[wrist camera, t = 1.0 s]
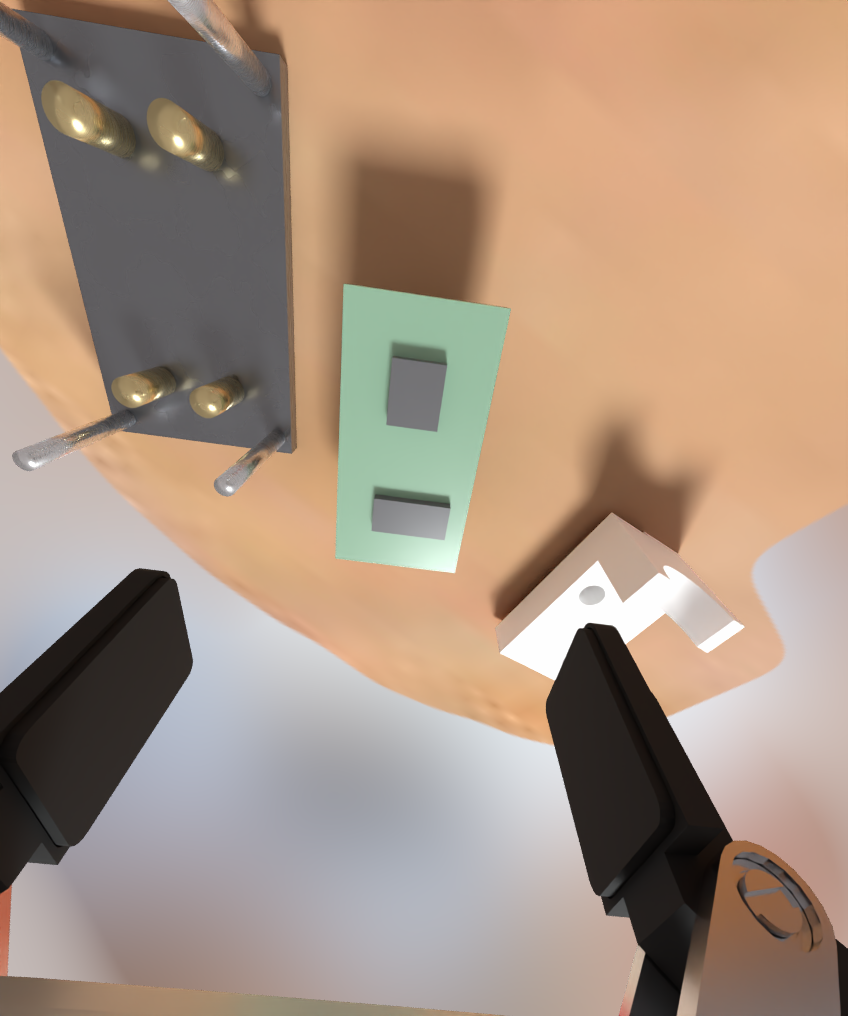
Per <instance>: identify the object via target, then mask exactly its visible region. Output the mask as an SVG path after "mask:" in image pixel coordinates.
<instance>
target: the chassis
mask: <svg viewBox="0 0 848 1016" xmlns="http://www.w3.org/2000/svg"><path fill="white" fill-rule="evenodd" d="M168 1H169V2H170V3H171V5H172V6H173V7H174V8H175V9H176V10H177V11H178V12H179V13H180V14H181V15H182V16H183V17H184V18H185V20H186V21H187V22H188V23H189V24H190V25H191V26H192V27H193V28H194V29H195V30H196V31H197V32H198V34H199V35H200V36H201V37H202V38H203V39H204V40H205V41H206V42H203V41H197V40H191V39H185V38H179V37H173V36H168V35H162V34H156V33H150V32H144V31H138V30H133V29H127V28H121V27H115V26H109V25H103V24H97V23H92V22H86V21H80V20H74V19H68V18H62V17H57V16H51V15H45V14H39V13H33V12H27V11H22V10H16V9H10V8H9V7H7V6H6V5H4V4H3V3H1V2H0V36H1V37H3V38H5V39H7V40H8V41H10V42H12V43H13V44H15V45H17V46H19V47H20V50H21V54H22V58H23V62H24V66H25V70H26V74H27V78H28V82H29V86H30V90H31V94H32V98H33V102H34V106H35V110H36V114H37V118H38V122H39V126H40V130H41V134H42V138H43V142H44V146H45V150H46V154H47V158H48V162H49V166H50V170H51V174H52V178H53V182H54V186H55V190H56V194H57V198H58V202H59V206H60V210H61V214H62V218H63V222H64V226H65V230H66V234H67V238H68V242H69V246H70V250H71V254H72V258H73V262H74V266H75V270H76V274H77V278H78V282H79V286H80V290H81V294H82V298H83V302H84V306H85V310H86V313H87V317H88V321H89V325H90V329H91V333H92V337H93V341H94V345H95V349H96V353H97V357H98V361H99V365H100V369H101V373H102V377H103V381H104V385H105V389H106V393H107V397H108V401H109V405H110V409H111V413H112V414H111V415H109V416H106V417H104V418H101V419H99V420H96V421H93V422H91V423H88V424H86V425H83V426H80V427H78V428H75V429H73V430H70V431H67V432H65V433H62V434H60V435H57V436H54V437H52V438H49V439H47V440H44V441H42V442H39V443H36V444H34V445H31V446H28V447H26V448H23V449H21V450H18V451H15V452H14V453H13V455H12V457H13V460H14V462H15V463H16V465H17V466H18V467H20V468H22V469H23V470H27V471H32V470H34V469H37V468H39V467H41V466H44V465H46V464H48V463H50V462H52V461H55V460H56V459H59V458H61V457H64V456H66V455H68V454H70V453H73V452H75V451H77V450H79V449H81V448H84V447H86V446H88V445H90V444H93V443H95V442H97V441H99V440H102V439H104V438H106V437H108V436H110V435H113V434H115V433H117V432H119V431H125V432H133V433H140V434H148V435H156V436H163V437H171V438H178V439H186V440H193V441H201V442H208V443H216V444H223V445H231V446H238V447H246V448H252V449H251V450H250V451H248V452H247V453H246V454H245V455H244V456H243V457H241V458H240V459H239V460H238V461H237V462H236V463H234V464H233V465H232V466H231V467H230V468H229V469H228V470H226V471H225V472H224V473H223V474H222V475H221V476H219V477H218V478H217V479H216V480H215V482H214V487H215V489H216V491H217V492H218V493H219V494H221V495H223V496H231V495H233V494H234V493H235V492H236V491H237V490H238V489H239V488H240V487H241V486H242V485H243V484H244V483H245V482H246V481H247V480H248V479H249V478H250V477H251V476H252V475H253V474H254V473H255V472H256V471H257V470H258V469H259V468H260V467H261V466H262V465H263V464H264V463H265V462H266V461H267V460H268V459H269V458H270V457H271V456H272V455H273V454H274V453H275V452H283V453H291V454H292V453H293V452H294V451H295V449H296V448H297V444H296V403H295V361H294V320H293V279H292V237H291V196H290V154H289V113H288V72H287V65H286V64H285V62H284V61H283V59H282V58H281V56H280V55H279V54H273V53H267V52H261V51H255V50H251V49H250V48H249V46H248V45H247V44H246V42H245V41H244V40H243V39H242V37H241V36H240V35H239V33H238V32H237V31H236V30H235V28H234V27H233V26H232V24H231V23H230V22H229V21H228V19H227V18H226V17H225V15H224V14H223V13H222V12H221V10H220V9H219V8H218V6H217V5H216V4H215V3H214V1H213V0H168Z"/></svg>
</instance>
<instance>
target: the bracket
mask: <svg viewBox="0 0 848 1016" xmlns="http://www.w3.org/2000/svg"><path fill="white" fill-rule="evenodd" d="M665 613H666V614H667V615H668V616H669V617H670V618H671V619H673V620H674V621H675V622H676V623H677V624H678V625H679V626H680V627H681V628H682V630H683V631H684V632H685V633H686V634H687V635H688V636H689V637H690V639H691V640H692V641H693V642H694V644H695V645H696V646H697V647H698V648H700V649H702V650H703V651H705V652H707V653H708V652H710V651H711V650H712V649H714V648H715V647H717V646H718V645H720V644H721V643H723V642H724V641H725V640H727V639H728V638H730V637H731V636H733V635H734V634H735V633H737V632H738V631H740V630H741V629H743V628H744V627H745V626H744V625H743V624H742V623H741V622H740V621H739V620H738V619H737V618H736V617H735V616H734V614H733V613H732V612H731V611H730V610H729V609H728V608H727V607H726V606H725V605H724V603H723V602H722V601H721V600H720V599H719V598H718V597H717V596H716V595H715V594H714V592H713V591H712V590H711V589H710V588H709V587H708V586H707V585H706V584H705V583H704V582H703V580H702V579H701V578H700V577H699V576H698V575H697V574H696V573H695V572H694V571H693V569H692V568H691V567H690V566H689V565H688V564H687V563H686V562H685V561H684V560H683V558H682V557H681V556H680V555H679V554H678V553H676V552H675V551H673V550H672V549H670V548H669V547H667V546H666V545H664V544H663V543H661V542H660V541H658V540H657V539H655V538H653V537H652V536H650V535H649V534H647V533H646V532H643V533H642V532H641V531H639V530H638V529H636V528H635V527H633V526H632V525H630V524H629V523H627V522H626V521H624V520H623V519H621V518H620V517H618V516H617V515H615V514H614V513H612V512H611V513H610V514H609V515H608V516H607V517H606V518H605V519H604V520H603V521H602V522H601V523H600V524H599V525H598V526H597V527H596V528H595V529H594V530H593V531H592V532H591V533H590V534H589V535H588V536H587V537H586V538H585V539H584V540H583V541H582V542H581V543H580V544H579V545H578V546H577V547H576V548H575V549H574V550H573V551H572V552H571V553H570V554H569V555H568V556H567V557H566V558H565V559H564V560H563V561H562V562H561V563H560V564H559V565H558V566H557V567H556V568H555V569H554V570H553V571H552V572H551V573H550V574H549V575H548V576H547V577H546V578H545V579H544V580H543V581H542V582H541V583H540V584H539V585H538V586H537V587H536V588H535V589H534V590H533V591H532V592H531V593H530V594H529V595H528V596H527V597H526V598H525V599H524V600H523V601H522V602H521V603H520V604H519V605H518V606H517V607H516V608H514V609H513V610H512V611H511V612H510V613H509V614H508V615H507V616H506V617H505V618H504V619H503V620H502V621H501V622H500V623H499V624H498V625H497V626H496V627H495V629H496V635H497V641H498V647H499V652H500V653H501V654H503V655H505V656H507V657H509V658H511V659H513V660H515V661H517V662H519V663H521V664H523V665H525V666H527V667H529V668H531V669H533V670H535V671H537V672H539V673H541V674H543V675H545V676H547V677H549V678H551V679H553V680H556V677H557V675H558V673H559V671H560V668H561V666H562V664H563V661H564V659H565V657H566V654H567V652H568V650H569V648H570V645H571V643H572V641H573V638H574V636H575V634H576V632H577V630H578V629H579V628H584V626H585V625H586V624H587V623H597V624H605V625H613V626H614V627H616V628H617V630H618V631H619V633H620V635H621V637H622V639H623V641H624V643H625V644H626V643H628V642H629V641H630V640H631V639H633V638H634V637H635V636H637V635H638V634H639V633H640V632H642V631H643V630H644V629H645V628H647V627H648V626H649V625H651V624H652V623H653V622H654V621H656V620H657V619H658V618H659V617H661V616H662V615H663V614H665Z"/></svg>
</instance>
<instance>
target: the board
mask: <svg viewBox="0 0 848 1016" xmlns="http://www.w3.org/2000/svg"><path fill="white" fill-rule="evenodd" d="M510 311H511V309H510V308H506V307H501V306H494V305H487V304H481V303H474V302H467V301H461V300H454V299H447V298H441V297H434V296H427V295H421V294H414V293H407V292H401V291H394V290H388V289H381V288H374V287H368V286H361V285H354V284H344V289H343V322H342V356H341V389H340V423H339V456H338V490H337V523H336V556H335V558H337V559H345V560H353V561H361V562H369V563H377V564H385V565H393V566H402V567H410V568H418V569H426V570H434V571H442V572H450V573H455V569H456V565H457V560H458V555H459V550H460V546H461V541H462V536H463V532H464V527H465V522H466V518H467V513H468V508H469V503H470V499H471V494H472V489H473V485H474V480H475V475H476V471H477V466H478V461H479V456H480V452H481V447H482V442H483V438H484V433H485V428H486V424H487V419H488V414H489V409H490V405H491V400H492V395H493V391H494V386H495V381H496V377H497V372H498V367H499V363H500V358H501V353H502V348H503V344H504V339H505V334H506V330H507V325H508V320H509V316H510Z"/></svg>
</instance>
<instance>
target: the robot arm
mask: <svg viewBox="0 0 848 1016" xmlns="http://www.w3.org/2000/svg"><path fill="white" fill-rule="evenodd" d="M192 664H193V659H192V653H191V649H190V644H189V639H188V635H187V629H186V625H185V621H184V615H183V610H182V606H181V601H180V596H179V592H178V587H177V583H176V581H175V580H174V579H171V578H170V575H169V574H168V573H167V572H164V571H157V570H149V569H140V568H139V569H135V570H134V571H133V572H131V573H130V574H129V575H128V576H127V577H126V578H125V579H124V580H122V581H121V582H120V583H119V584H118V585H117V586H116V587H115V588H114V589H113V590H112V591H111V592H109V593H108V594H107V595H106V596H105V597H104V598H103V599H102V600H101V601H100V602H99V603H98V604H96V605H95V606H94V607H93V608H92V609H91V610H90V611H89V612H88V613H87V614H86V615H84V616H83V617H82V618H81V619H80V620H79V621H78V622H77V623H76V624H75V625H74V626H72V627H71V628H70V629H69V630H68V631H67V632H66V633H65V634H64V635H63V636H62V637H60V638H59V639H58V640H57V641H56V642H55V643H54V644H53V645H52V646H51V647H50V648H48V649H47V650H46V651H45V652H44V653H43V654H42V655H41V656H40V657H39V658H38V659H36V660H35V661H34V662H33V663H32V664H31V665H30V666H29V667H28V668H27V669H26V670H25V671H24V672H22V673H21V674H20V675H19V676H18V677H17V678H16V679H15V680H14V681H13V682H12V683H10V684H9V685H8V686H7V687H6V688H5V689H4V690H3V691H2V692H1V693H0V1016H503V1015H492V1014H479V1013H469V1012H456V1011H445V1010H434V1009H423V1008H410V1007H399V1006H386V1005H375V1004H362V1003H350V1002H337V1001H325V1000H314V999H301V998H288V997H276V996H264V995H251V994H239V993H226V992H213V991H202V990H189V989H175V988H162V987H149V986H136V985H123V984H110V983H96V982H82V981H70V980H57V979H44V978H30V977H12V976H7V973H8V953H9V933H10V913H11V892H12V883H13V882H14V880H15V879H16V877H17V876H18V875H19V873H20V872H21V871H22V869H23V868H24V866H25V865H26V864H27V862H30V863H42V864H52V865H58V864H59V862H60V861H61V859H62V858H63V856H64V854H65V853H66V852H67V850H68V849H69V847H70V846H75V845H76V844H78V843H79V842H80V841H81V840H82V839H83V838H84V836H85V835H86V834H87V832H88V831H89V829H90V828H91V826H92V824H93V823H94V821H95V820H96V818H97V817H98V815H99V814H100V812H101V811H102V809H103V807H104V806H105V804H106V803H107V801H108V800H109V798H110V797H111V795H112V794H113V792H114V791H115V789H116V787H117V786H118V784H119V783H120V781H121V779H122V778H123V777H124V775H125V773H126V772H127V770H128V769H129V767H130V766H131V764H132V763H133V761H134V759H135V758H136V756H137V755H138V753H139V752H140V750H141V749H142V747H143V746H144V744H145V743H146V741H147V739H148V738H149V736H150V735H151V733H152V732H153V730H154V728H155V727H156V725H157V724H158V722H159V721H160V719H161V718H162V716H163V715H164V713H165V712H166V710H167V708H168V707H169V705H170V704H171V702H172V701H173V699H174V698H175V696H176V694H177V693H178V691H179V690H180V688H181V687H182V685H183V684H184V682H185V681H186V679H187V677H188V676H189V674H190V672H191V669H192ZM546 714H547V719H548V723H549V727H550V731H551V734H552V738H553V742H554V746H555V750H556V754H557V757H558V761H559V765H560V769H561V773H562V777H563V780H564V785H565V788H566V792H567V796H568V800H569V804H570V808H571V811H572V815H573V819H574V823H575V827H576V831H577V835H578V838H579V842H580V846H581V850H582V854H583V858H584V862H585V865H586V869H587V873H588V877H589V881H590V884H591V886H592V888H593V891H594V892H595V894H596V895H598V896H601V898H602V902H603V905H604V909H605V913H606V915H608V916H619V917H629V918H630V920H631V924H632V927H633V930H634V933H635V936H636V940H637V943H638V946H637V950H636V954H635V957H634V961H633V965H632V968H631V972H630V976H629V979H628V983H627V987H626V990H625V994H624V997H623V1001H622V1005H621V1008H620V1012H619V1016H848V949H847V948H846V947H845V946H844V945H843V944H841V943H840V942H839V941H838V940H837V939H835V935H834V931H833V926H832V925H831V922H830V920H829V918H828V916H827V914H826V912H825V910H824V907H823V906H822V904H821V903H820V902H819V900H818V898H817V897H816V896H815V894H814V893H813V891H812V890H811V888H810V887H809V886H808V885H807V884H806V882H805V881H804V880H803V879H802V878H801V877H800V876H799V875H798V874H797V872H795V870H794V869H792V868H791V867H790V866H789V865H788V864H787V863H785V862H784V861H783V860H782V859H781V858H779V857H778V856H777V855H775V854H774V853H772V852H770V851H769V850H767V849H765V848H764V847H762V846H760V845H757V844H754V843H751V842H748V841H733V840H732V838H731V836H730V834H729V833H728V831H727V829H726V827H725V825H724V823H723V821H722V820H721V818H720V816H719V814H718V812H717V810H716V808H715V807H714V805H713V803H712V801H711V799H710V797H709V795H708V794H707V792H706V790H705V788H704V786H703V784H702V783H701V781H700V779H699V777H698V775H697V773H696V771H695V769H694V768H693V766H692V764H691V762H690V760H689V758H688V756H687V755H686V753H685V751H684V749H683V747H682V745H681V744H680V742H679V740H678V738H677V736H676V734H675V733H674V731H673V729H672V727H671V725H670V723H669V721H668V719H667V718H666V716H665V714H664V712H663V710H662V708H661V706H660V705H659V703H658V701H657V699H656V698H655V696H654V695H653V693H652V692H651V691H650V689H649V687H648V686H647V684H646V682H645V680H644V678H643V676H642V674H641V672H640V671H639V669H638V667H637V665H636V663H635V661H634V659H633V658H632V656H631V654H630V652H629V650H628V648H627V646H626V644H625V643H624V641H623V639H622V637H621V635H620V633H619V631H618V630H617V628H616V627H614V626H613V625H605V624H597V623H587V624H586V625H585V626H584V628H579V629H578V630H577V632H576V634H575V636H574V638H573V641H572V643H571V645H570V648H569V650H568V652H567V654H566V657H565V659H564V661H563V664H562V666H561V668H560V671H559V673H558V675H557V677H556V680H555V682H554V684H553V687H552V689H551V691H550V694H549V696H548V698H547V701H546Z"/></svg>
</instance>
